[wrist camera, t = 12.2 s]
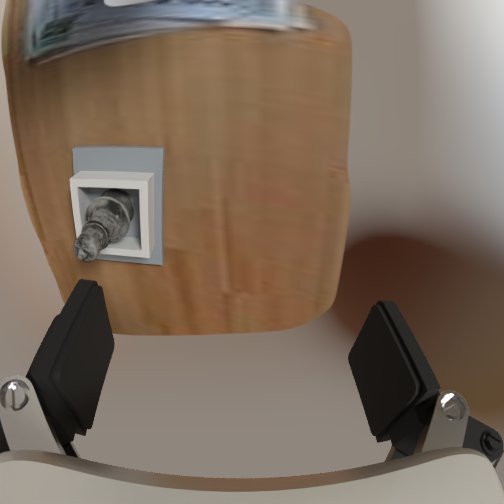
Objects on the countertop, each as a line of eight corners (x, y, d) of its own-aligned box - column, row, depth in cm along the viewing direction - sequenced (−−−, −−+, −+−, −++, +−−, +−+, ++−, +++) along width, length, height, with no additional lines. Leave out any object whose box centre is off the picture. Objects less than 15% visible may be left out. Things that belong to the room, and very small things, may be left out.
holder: (75, 146, 32) (61, 154, 29) (165, 147, 34) (157, 155, 30) (86, 253, 40) (76, 269, 37) (163, 261, 42) (158, 278, 39)
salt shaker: (98, 226, 37) (60, 280, 27) (94, 185, 34) (48, 230, 24) (138, 229, 38) (109, 287, 28) (137, 186, 35) (101, 234, 25)
